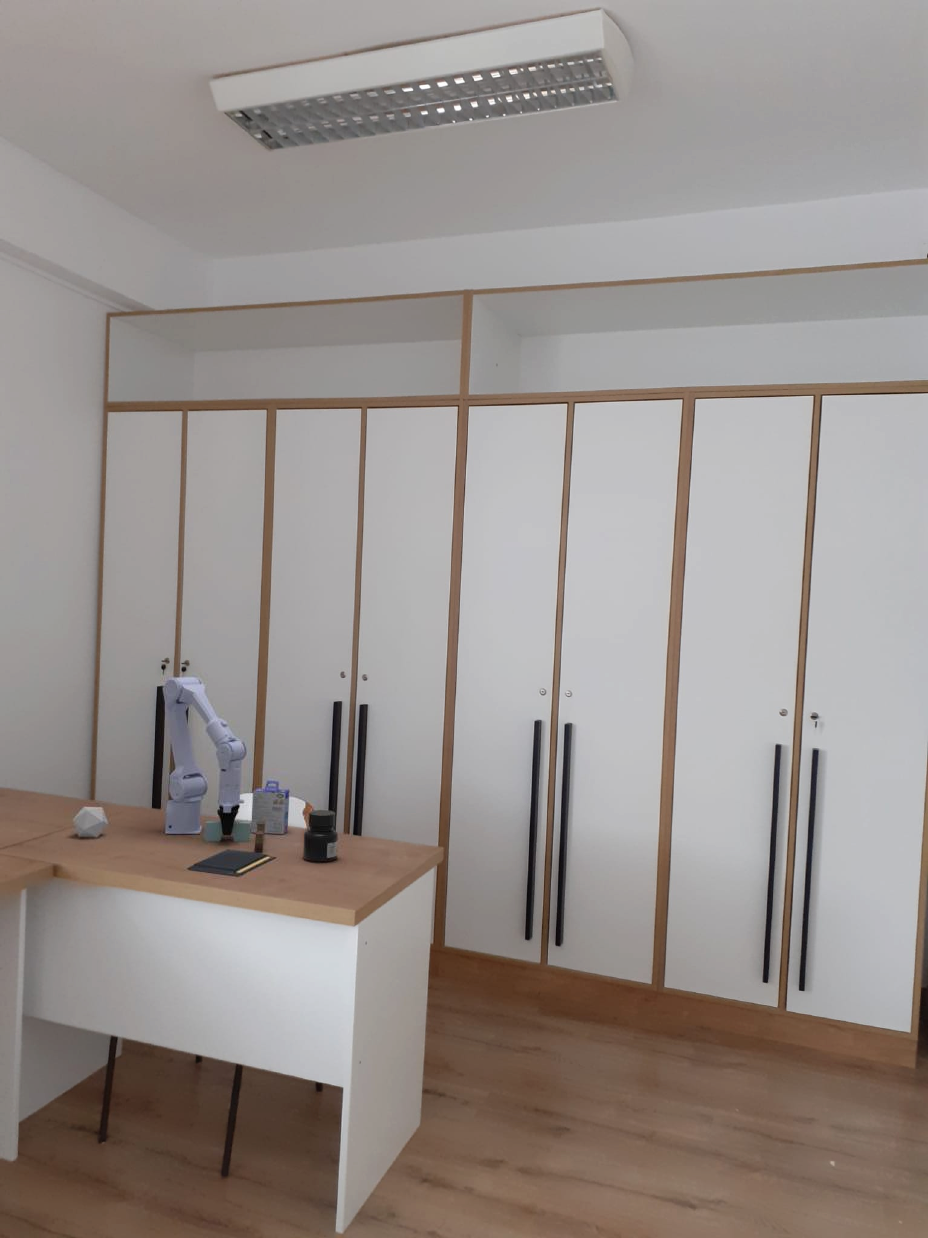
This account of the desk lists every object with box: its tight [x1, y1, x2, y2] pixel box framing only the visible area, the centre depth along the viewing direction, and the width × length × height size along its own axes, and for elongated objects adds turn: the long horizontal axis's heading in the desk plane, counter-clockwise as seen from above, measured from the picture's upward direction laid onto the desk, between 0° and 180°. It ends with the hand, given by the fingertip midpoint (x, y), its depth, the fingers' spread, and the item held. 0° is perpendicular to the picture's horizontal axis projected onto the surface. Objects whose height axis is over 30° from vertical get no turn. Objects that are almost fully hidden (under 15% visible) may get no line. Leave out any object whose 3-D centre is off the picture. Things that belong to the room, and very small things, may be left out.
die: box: [72, 806, 109, 839], centre depth 258 cm, size 8×9×10 cm
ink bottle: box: [302, 809, 339, 863], centre depth 246 cm, size 10×9×12 cm
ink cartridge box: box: [250, 780, 290, 835], centre depth 273 cm, size 10×6×14 cm, turn 89°
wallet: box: [186, 848, 277, 878], centre depth 238 cm, size 20×2×15 cm
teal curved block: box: [204, 820, 251, 842], centre depth 261 cm, size 12×2×5 cm, turn 100°
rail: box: [254, 821, 266, 854], centre depth 256 cm, size 15×2×5 cm, turn 10°
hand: (227, 833), depth 261 cm, fingers open, 4 cm apart
